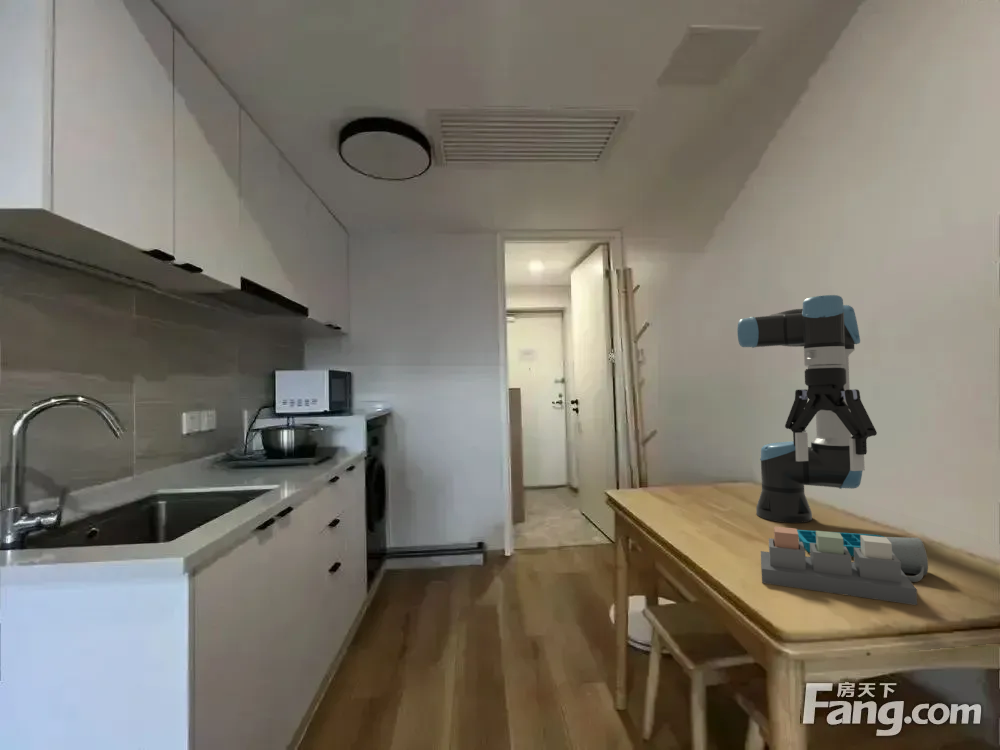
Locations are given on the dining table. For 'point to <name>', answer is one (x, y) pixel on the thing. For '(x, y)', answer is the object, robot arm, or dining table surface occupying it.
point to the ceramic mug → (910, 556)
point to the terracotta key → (786, 537)
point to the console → (837, 573)
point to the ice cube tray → (848, 538)
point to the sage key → (829, 542)
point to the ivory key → (876, 547)
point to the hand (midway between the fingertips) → (828, 465)
